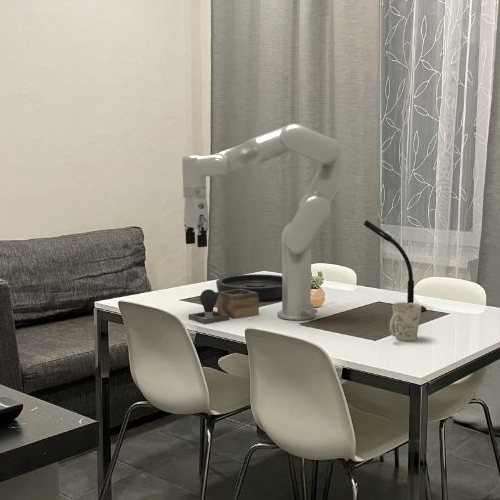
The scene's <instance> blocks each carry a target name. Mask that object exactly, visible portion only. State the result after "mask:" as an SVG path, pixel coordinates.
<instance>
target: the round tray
mask: <svg viewBox="0 0 500 500" xmlns="http://www.w3.org/2000/svg"><path fill="white" fill-rule="evenodd" d="M215 285H216V289H217V293H218V292H221V291H228V290H235V289H244V290H249V291H253V292H257V293H258V297H259V301H264V302H273V301H280V300H281V301H282V275H277V274H264V273H263V274H262V273H257V274H256V273H255V274H254V273H252V274H251V273H250V274H236V275H229V276H224V277H221V278H218V279H217V280H216V282H215Z"/></svg>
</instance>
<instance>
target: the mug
mask: <svg viewBox="0 0 500 500" xmlns="http://www.w3.org/2000/svg"><path fill="white" fill-rule="evenodd" d="M421 314H422V312H421V304H419V303H415V302H414V303H407V302H405V303H403V302H395V303H393V304H392V317H391V319H390V322H389V332H390V334H391V336H392V337H394V338H395V340H397V341H400V342H414V341H416V340H417V338H418V332H419V326H420V319H421Z"/></svg>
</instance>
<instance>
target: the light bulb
mask: <svg viewBox="0 0 500 500" xmlns="http://www.w3.org/2000/svg"><path fill="white" fill-rule="evenodd" d="M217 296H218V294H217V293H216V292H215V290H213V289H210V288H209V289H205V290H203V291H202V292H201V294H200V296H199V300H200V304H201V305H202V307H203V312H205V317H204V318H212V317H214V316H213V311H214V309H215V308H214V307H215V305H217Z"/></svg>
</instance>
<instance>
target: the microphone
mask: <svg viewBox="0 0 500 500" xmlns="http://www.w3.org/2000/svg"><path fill="white" fill-rule="evenodd" d="M363 226H364V227H366V228H367V229H368V230H370V231H372V232H374V233H375V234H377V235H378V236H379V237H381V238H382V239H383V240H386V241H387V242H390V243H391V244H392V245H393V246H394V247H395V248H396V249H397V250H398V251H399V252H400V254H401V256H402V258H403V259H404V262H405V264H406V267H407V268H406V269H407V273H408V274H407V275H408V280H407V298H406V299H407V302H404V301H403V302H402V303H415V301H414V298H415V296H414V294H415V280H414V275H413V268H412V265H411V262H410V259H409V257H408V255H407V253H406V252H405V250H404V248H403V247H402V246H401V245H400V244H399V243H398V242H397V241H396V240H395V239H394V238H392V236H391V235H390V234H389V233H387V232H386V231H384V230H383V229H381V228H379V227H378V226H376V225H375V224H374V223H372V222H371V221H370V220H364V222H363ZM420 305H421V304H420ZM426 311H427V307H426V306H424V305H421V313H424V312H426Z"/></svg>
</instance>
